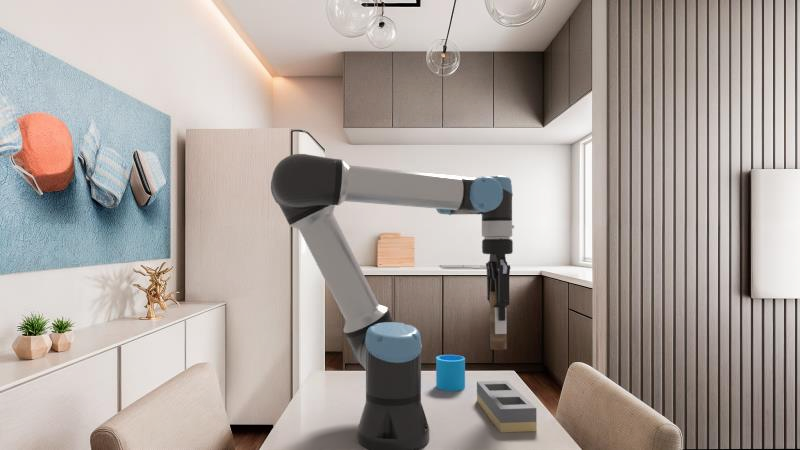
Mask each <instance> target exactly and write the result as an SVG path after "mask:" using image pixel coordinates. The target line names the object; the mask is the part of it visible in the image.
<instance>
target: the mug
mask: <svg viewBox="0 0 800 450" xmlns="http://www.w3.org/2000/svg"><path fill="white" fill-rule="evenodd" d="M435 359H436V361H435V363H436V364H435V366H436V367H435V370H436V371H435V375H436V376H435V377H436V379H435V381H436V382H435V384H436V385H435V388H437V389H438V390H441V391H447V392H457V391H462V390H465V389H466V358H465V357H464V356H463V355H458V354H456V355H455V354H442V355H437V356H436V357H435Z"/></svg>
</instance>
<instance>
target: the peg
mask: <svg viewBox="0 0 800 450" xmlns="http://www.w3.org/2000/svg"><path fill="white" fill-rule="evenodd" d="M493 305H496V295H495V291H492V292H490V303H489V323H490V324H489V333H490V335H489V337H490V338H489V340H490V342H489V344H490V348H489V349H491V350H494V351H505V350H507V348H508V347H507V345H508V341H507V334H508V333H507V334H495V307H493Z"/></svg>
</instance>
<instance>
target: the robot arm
mask: <svg viewBox="0 0 800 450" xmlns="http://www.w3.org/2000/svg"><path fill="white" fill-rule="evenodd" d="M271 177H272V178H271V181H270V192H271V194H272V197H273V199H274V201H275V203H276V204H278V206H279V207H280V209H281V211H282V213H283V216H284V218H285V219H286V222H287V224H288V225H289V226H290V227H291V228H293V229H296V230H299V231H300V232H299V233H300V234H301V236H302V237H303V240H304V241H305V244H306V245H307V247H308V251H310V253H311V256H312V257H313V260H314V262H315V263H316V265H317V267H318V269H319V270H320V274H321V275H322V277H323V279H324V281H325V283H326V285H327V286H328V289H329V291H330V293H331V294H332V297H333V299H334V300H335V302H336V304H337V306H338V308H339V310H340V313H341V314H342V316H343V319H344V320H345V323H344V327H343V329H342V331H343V333H344V335H345V336H346V338H347V340H348V342H349V344H350V346H351V350H352V352H353V356H354V358H355V359H356V360H357V362H358V363H359V364H360V365H361V366H362V368H364V370H365V404H364V407H363V410H362V413H361V416H360V421H359V424H358V427H357V442H358V444H360V446H362V447H364V448H366V449H368V450H417V449H420V448H423V447H424V446H425V445H427V444H428V443H429V441H430V426H429V423H428V420H427V416H426V413H425V409H424V406H423V404H422V348H423V346H422V345H423V344H422V341H421V339H422V338H421V334H420V331H419V330H418V328H416V327H415V326H413V325H411V324H405V323H404V322H398V321H397V322H396V321H395V320H394V317H393V316H392V314H391V312H390V310H389V307H387V306H385V305H382V304H380V303H379V302H378V300H377V298H376V296H375V294H374V292H373V291H372V288H371V286H370V285H369V282H368V280H367V278H366V276H365V275H364V272H363V271H362V268H361V267H360V264H359V262H358V260H357V258H356V256H355V255H354V252H353V251H352V248H351V246H350V244H349V242H348V241H347V238H346V237H345V234H344V233H343V230H342V229H341V226H340V225H339V222H338V220H337V219H336V216H335V214H334V211H335V208H336V206H339V205H341V204H342V203H344V202H350V203H364V204H374V205H375V204H376V205H377V204H378V205H385V206H386V205H388V206H389V205H390V206H401V207H402V206H403V207H413V208H426V209H436V212H437V213H438V214H440V215H449V216H451V215H481V237H482V238H484V239H482V241H481V249H482V250H481V252H482V254H483V255H489V260H488V261H487V262H486V263H485V267H486V290H487V291H486V293H487V294H486V295H487V296H486V299H487V301H488V302H489V304H490V292H492V291H495V295H496V305H493V307H495V334H508V333H507V332H508V331H507V329H508V328H507V326H508V325H507V323H508V322H507V316H508V315H507V307H508V306H510V271H511V265H510V264H508V261H507V259H506V255H511V254H512V253H513V252H514V251H513V248H514V247H513V246H514V245H513V239H512V238H511V237H512V236H513V229H515V225H514V224H513V185H512V179H511V178H510V177H508V176H505V175H490V176H479V177H469V176H458V175H449V174H437V173H429V172H422V171H421V172H419V171H412V170H397V169H388V168H379V167H369V166H360V165H351V164H347V163H346V162H345V161H344V160H343V159H340V158H339V159H338V158H331V157H324V156H318V155H312V154H307V153H295V154H294V153H293V154H290V155H288V156H286V157H284V158H283V159H281V160H280V161H279V162H278V163H277V165H276V166H275V168H274V170H273V173H272V176H271Z"/></svg>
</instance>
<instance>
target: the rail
mask: <svg viewBox="0 0 800 450" xmlns="http://www.w3.org/2000/svg"><path fill="white" fill-rule="evenodd" d="M476 402H477V403H478V404H479V407H481V408H482V410H483V411H484V413H486V415H487V417H488V418H489V419H490V420H491V422H492V423H493V424H494V426H495V427H496V429H497V430H498V431H499V432H500V433H513V432H514V433H516V432H517V433H518V432H519V433H520V432H524V433H525V432H537V431H538V430H537V407H536V406H535V405H534V404H533V403H532V402H530V400H528V398H527V397H525V396H524V395H523V394H522V393H521V392H520V391H519V390H518V389H517V388H516V387H515V386H514V385H512V384H511V383H510V382H509V381H508V380H487V381H486V380H485V381H484V380H483V381H482V380H481V381H478V380H477V381H476Z"/></svg>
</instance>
